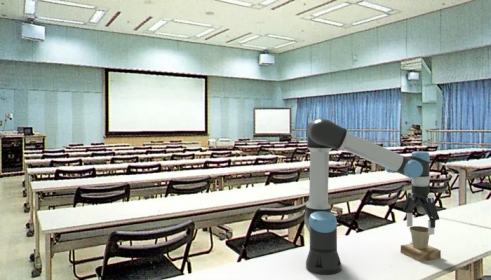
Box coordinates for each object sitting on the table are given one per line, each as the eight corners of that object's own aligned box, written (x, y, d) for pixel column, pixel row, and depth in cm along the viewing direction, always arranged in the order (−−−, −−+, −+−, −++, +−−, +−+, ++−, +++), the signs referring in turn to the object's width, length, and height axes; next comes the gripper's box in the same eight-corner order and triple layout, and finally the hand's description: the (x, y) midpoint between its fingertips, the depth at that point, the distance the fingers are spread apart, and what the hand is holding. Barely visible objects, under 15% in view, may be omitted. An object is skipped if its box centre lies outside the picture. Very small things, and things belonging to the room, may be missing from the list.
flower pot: (433, 251, 171) (434, 232, 171) (411, 250, 173) (411, 231, 173) (428, 244, 180) (428, 226, 180) (407, 243, 182) (407, 225, 182)
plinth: (419, 261, 170) (419, 253, 169) (400, 252, 181) (400, 244, 181) (440, 257, 173) (440, 249, 173) (421, 249, 185) (421, 241, 184)
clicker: (416, 249, 185) (416, 245, 185) (410, 249, 186) (410, 245, 186) (416, 246, 190) (416, 242, 189) (410, 246, 191) (410, 241, 191)
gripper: (448, 189, 164) (448, 237, 166) (408, 180, 188) (407, 222, 189) (434, 190, 162) (434, 239, 163) (395, 181, 186) (395, 223, 187)
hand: (420, 230), depth 176 cm, fingers open, 13 cm apart
